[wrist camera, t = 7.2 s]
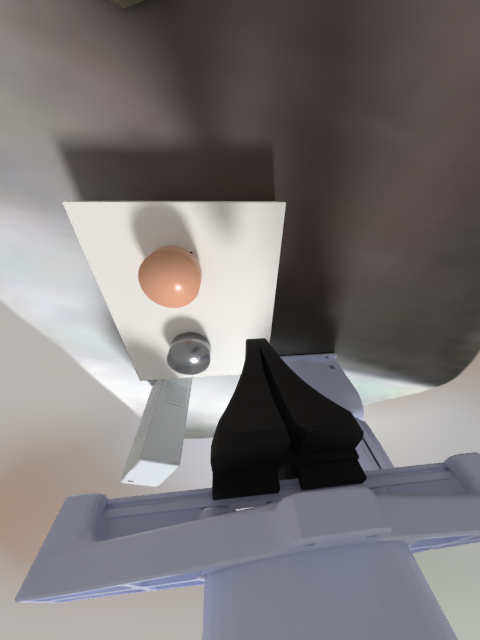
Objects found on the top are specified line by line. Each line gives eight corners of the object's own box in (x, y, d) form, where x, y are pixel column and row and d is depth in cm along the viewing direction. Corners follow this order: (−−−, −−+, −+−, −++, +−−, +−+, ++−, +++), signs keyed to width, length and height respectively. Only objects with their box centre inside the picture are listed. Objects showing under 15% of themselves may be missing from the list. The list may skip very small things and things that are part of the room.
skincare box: (177, 394, 31) (157, 488, 21) (151, 387, 30) (117, 483, 20) (194, 372, 29) (181, 466, 19) (167, 363, 27) (137, 460, 17)
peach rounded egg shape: (202, 237, 17) (196, 251, 13) (206, 282, 20) (202, 306, 16) (152, 237, 17) (129, 252, 13) (163, 283, 19) (147, 309, 15)
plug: (210, 315, 23) (208, 343, 19) (213, 343, 25) (211, 373, 21) (173, 317, 23) (162, 345, 18) (179, 345, 25) (171, 376, 21)
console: (275, 201, 17) (286, 202, 14) (261, 353, 28) (266, 372, 25) (90, 200, 16) (62, 202, 13) (148, 360, 27) (140, 380, 24)
